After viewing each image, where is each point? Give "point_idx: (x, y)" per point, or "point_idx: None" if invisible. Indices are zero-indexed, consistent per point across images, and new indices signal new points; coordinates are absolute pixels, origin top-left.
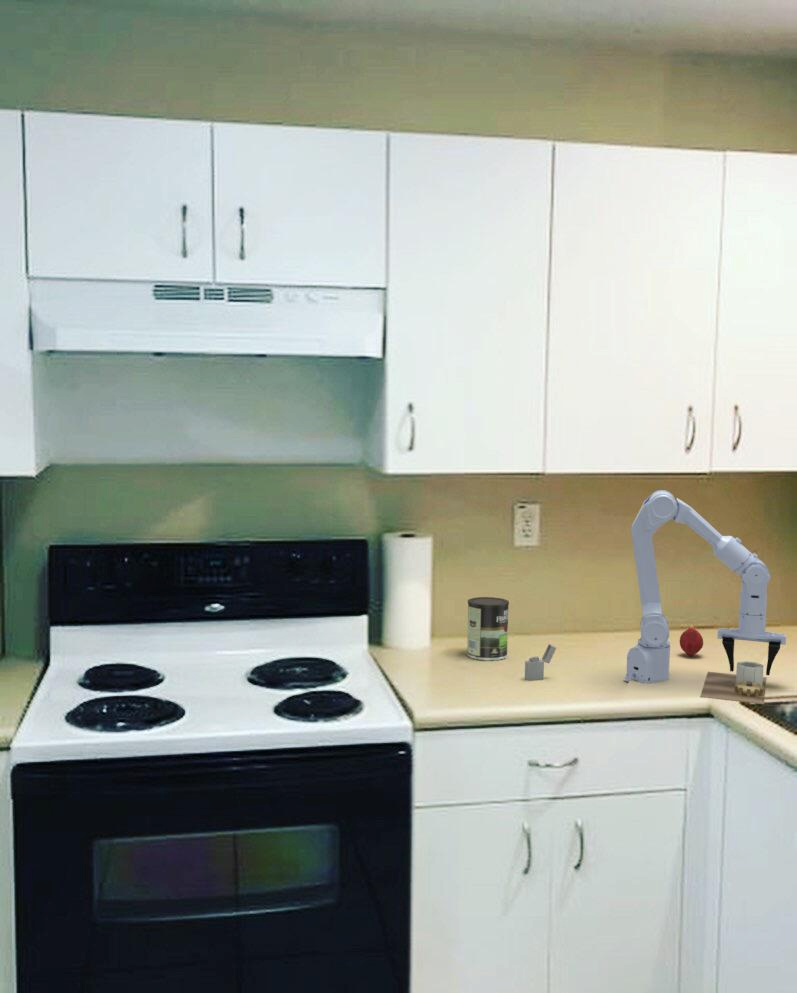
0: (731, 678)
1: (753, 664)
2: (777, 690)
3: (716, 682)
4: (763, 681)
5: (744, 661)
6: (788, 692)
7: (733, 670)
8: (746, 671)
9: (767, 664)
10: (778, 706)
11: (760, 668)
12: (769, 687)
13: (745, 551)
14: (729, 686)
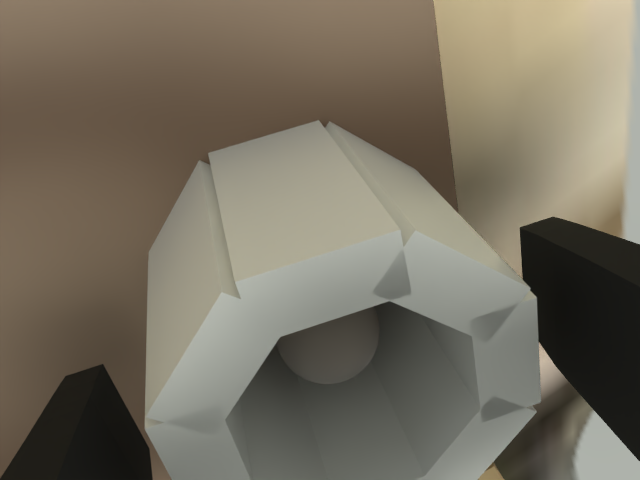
0: (42, 192)
1: (377, 292)
2: (535, 92)
3: (6, 436)
4: (412, 66)
5: (219, 305)
6: (629, 92)
7: (131, 420)
8: None
9: (625, 441)
10: (559, 461)
11: (506, 432)
12: (452, 29)
13: None
14: None
